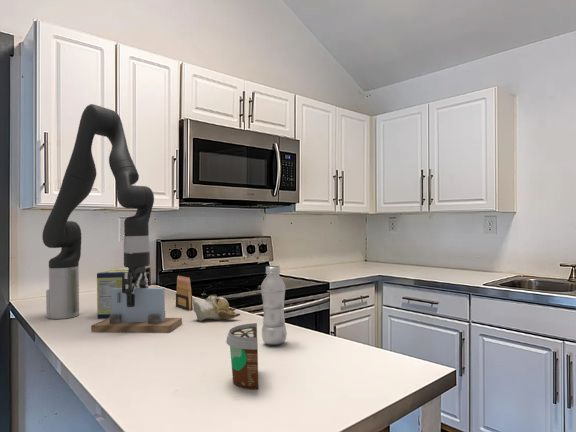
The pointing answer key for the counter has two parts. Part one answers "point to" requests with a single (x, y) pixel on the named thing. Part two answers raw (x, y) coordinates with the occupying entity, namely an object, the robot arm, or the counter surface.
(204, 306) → the ceramic sculpture
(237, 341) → the food container
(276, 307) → the plastic bottle
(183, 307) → the ammunition clip
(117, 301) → the door
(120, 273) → the protein box
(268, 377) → the counter surface
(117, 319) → the cabinet base
